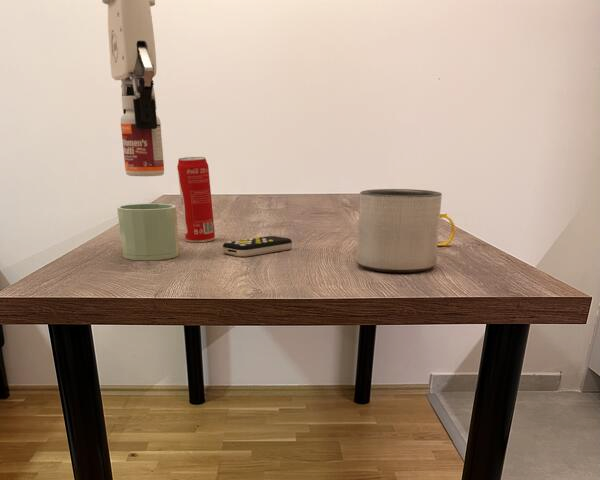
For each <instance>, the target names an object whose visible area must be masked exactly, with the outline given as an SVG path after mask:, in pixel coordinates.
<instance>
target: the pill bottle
mask: <svg viewBox="0 0 600 480" xmlns="http://www.w3.org/2000/svg"><path fill="white" fill-rule="evenodd" d="M133 99H136V98H135V96H122V95H121V105H122V107H121V108H122V110H123V109H126V113H125V114H124V113H123V114H122V116H121V117H120V131H121V140H122V149H123V157H124V158H123V161H124V170H125V173H126V175H127V176H129V177H159V176H163V175H164V174H165V164H164V163H165V162H164V151H163V138H162V125H161V119H160V118H159V116H158V115H157V114H156V118H157V128H156V129H137V128H136V124H135V114H134V104H133ZM154 100H155V106H156V110H157V100H156V98H155V99H154Z"/></svg>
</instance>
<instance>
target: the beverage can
mask: <svg viewBox="0 0 600 480" xmlns="http://www.w3.org/2000/svg"><path fill="white" fill-rule="evenodd" d="M206 158H207V157H205V156H186V157H180V158H178V161H177V169H176V170H177V176H178V184H179V194H180V203H181V211H182V220H183V228H184V229H183V230H184V237H185V240H186V241H187V242H189V243H207V242H211V241H213V240H215V238H216V233H215V224H214V212H213V202H212V201H213V200H212V190H211V181H210V180H211V179H210V169H209V164H208V161H207V159H206Z"/></svg>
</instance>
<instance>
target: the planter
mask: <svg viewBox="0 0 600 480" xmlns="http://www.w3.org/2000/svg"><path fill="white" fill-rule="evenodd" d="M442 196H443V194H442V192H440V191H435V190H429V189H427V190H426V189H412V188H377V189H366V190H362V191H360V192H359V208H358V226H357V227H358V229H357V243H356V244H357V245H356V263H357V264H358V265H359V266H360V267H362V268H363V269H366V270H370V271H375V272H381V273H393V274H394V273H395V274H406V273H409V274H410V273H419V272H425V271H429V270H430V269H431V268H434V266H435V265H436V263H437V258H438V257H437V256H438V247H439V246H438V243H439V233H440V232H439V230H440V220H441V218H440V212H441V208H442V207H441V206H442Z"/></svg>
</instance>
